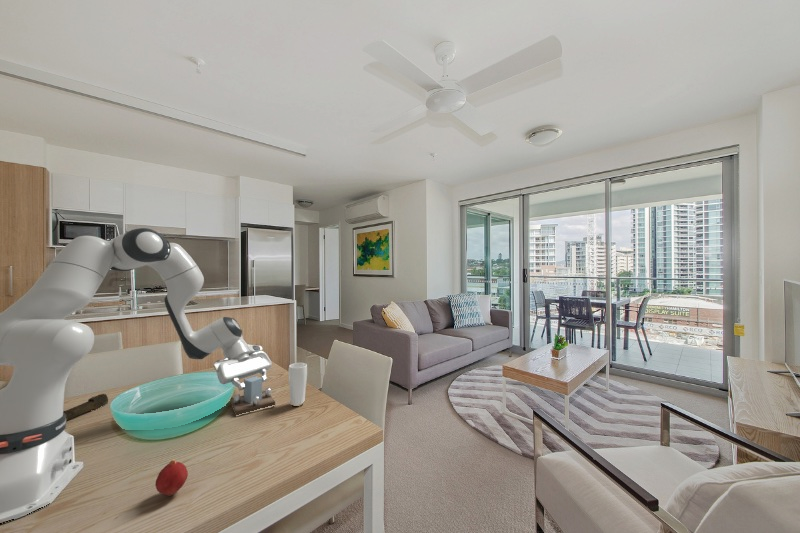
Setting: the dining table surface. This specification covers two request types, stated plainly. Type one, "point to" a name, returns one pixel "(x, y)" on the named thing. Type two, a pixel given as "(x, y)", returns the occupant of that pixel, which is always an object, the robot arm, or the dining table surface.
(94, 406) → the rusty brown artillery shell
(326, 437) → the dining table surface
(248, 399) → the block
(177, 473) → the onion
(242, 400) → the peg board
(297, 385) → the drinking glass
